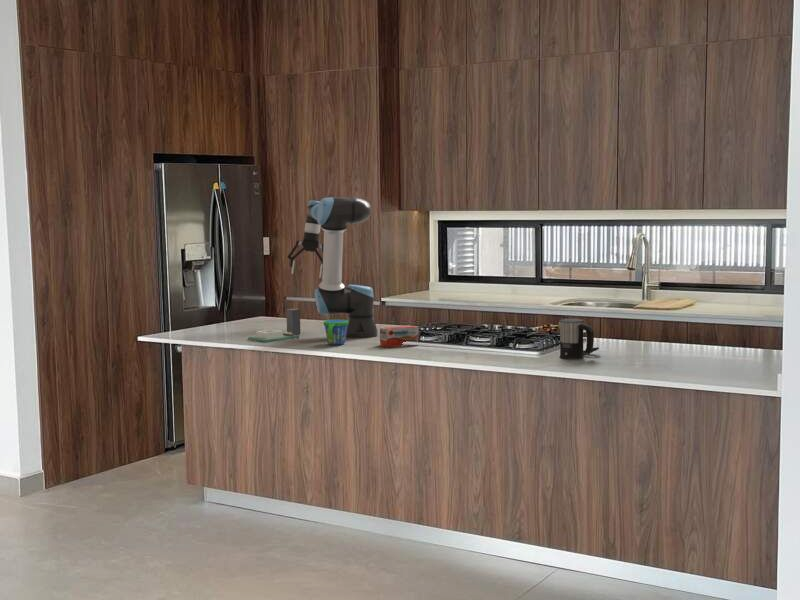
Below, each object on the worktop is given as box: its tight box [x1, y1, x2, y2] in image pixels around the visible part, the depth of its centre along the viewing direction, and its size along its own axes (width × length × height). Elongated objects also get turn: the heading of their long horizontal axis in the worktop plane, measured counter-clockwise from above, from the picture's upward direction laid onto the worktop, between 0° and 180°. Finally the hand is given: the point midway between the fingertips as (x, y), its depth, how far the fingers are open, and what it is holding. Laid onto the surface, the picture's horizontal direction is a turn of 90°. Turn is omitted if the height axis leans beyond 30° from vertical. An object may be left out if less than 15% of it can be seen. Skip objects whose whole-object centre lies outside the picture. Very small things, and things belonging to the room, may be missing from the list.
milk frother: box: [559, 318, 600, 360], centre depth 376 cm, size 14×16×15 cm
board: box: [247, 329, 300, 343], centre depth 434 cm, size 14×18×4 cm
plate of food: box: [534, 322, 587, 334], centre depth 443 cm, size 28×28×6 cm
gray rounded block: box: [285, 308, 301, 336], centre depth 446 cm, size 5×4×12 cm
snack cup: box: [323, 319, 348, 346], centre depth 416 cm, size 16×10×10 cm
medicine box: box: [379, 325, 420, 348], centre depth 411 cm, size 15×8×8 cm, turn 114°
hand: (306, 275), depth 469 cm, fingers open, 13 cm apart
